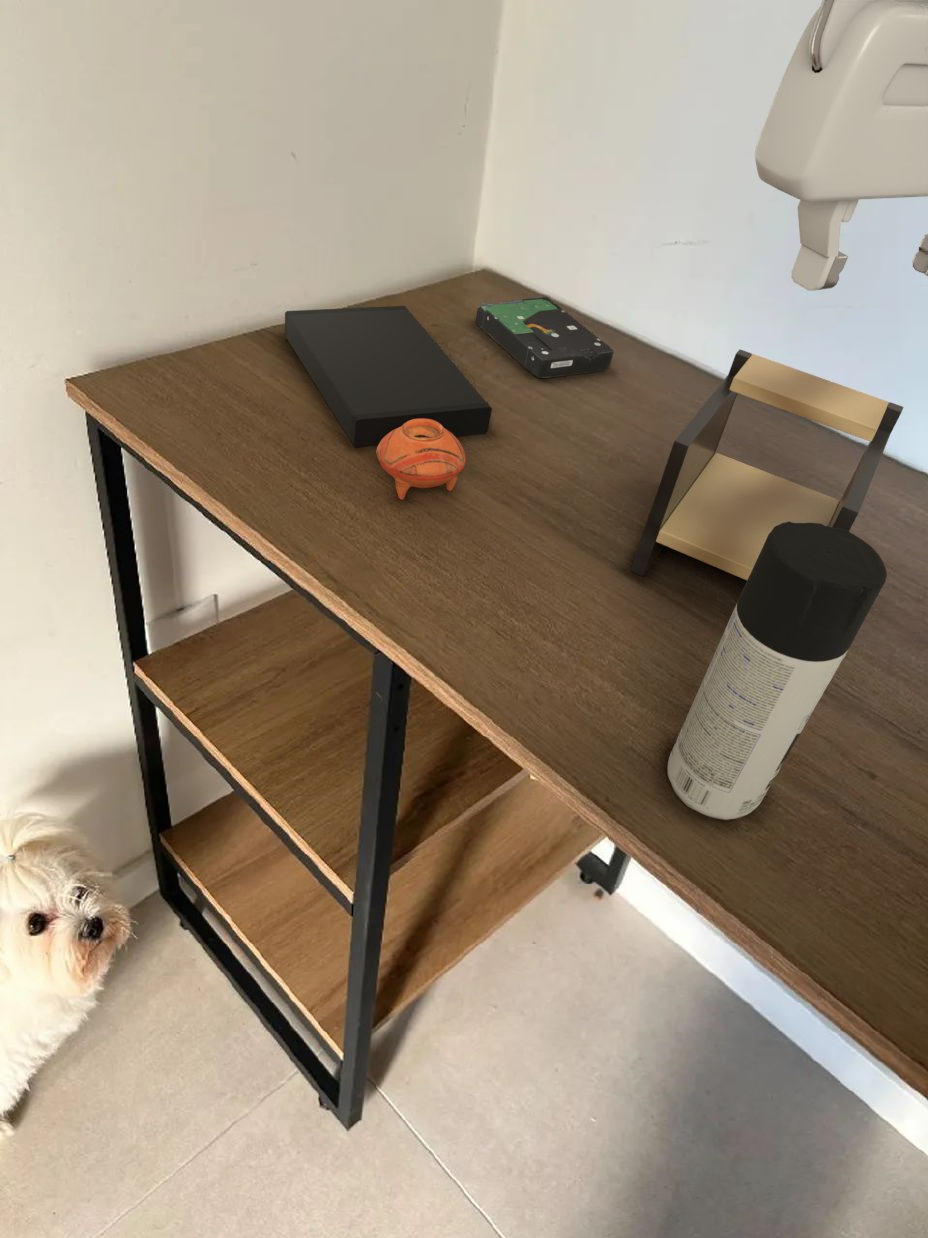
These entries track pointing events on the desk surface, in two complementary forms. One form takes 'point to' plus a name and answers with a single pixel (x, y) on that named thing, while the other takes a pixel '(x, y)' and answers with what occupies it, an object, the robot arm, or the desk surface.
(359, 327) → the external hard drive
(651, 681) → the desk surface
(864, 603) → the spray can
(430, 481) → the pot
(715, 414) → the shelf
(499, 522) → the desk surface
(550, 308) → the disk drive
